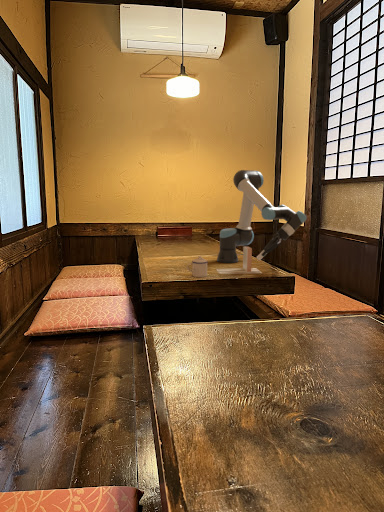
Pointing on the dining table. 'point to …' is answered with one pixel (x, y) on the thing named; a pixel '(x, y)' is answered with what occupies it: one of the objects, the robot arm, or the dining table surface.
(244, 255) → the tile
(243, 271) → the board
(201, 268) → the teacup with lid
